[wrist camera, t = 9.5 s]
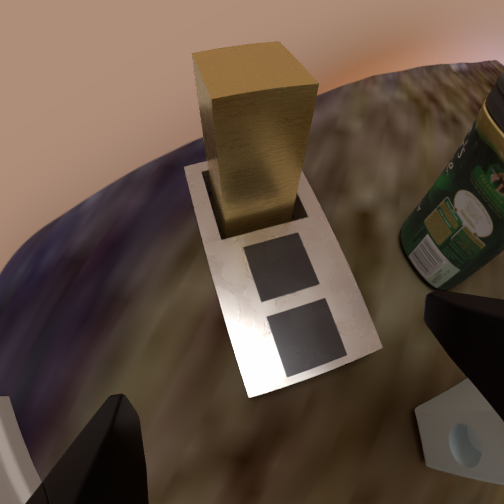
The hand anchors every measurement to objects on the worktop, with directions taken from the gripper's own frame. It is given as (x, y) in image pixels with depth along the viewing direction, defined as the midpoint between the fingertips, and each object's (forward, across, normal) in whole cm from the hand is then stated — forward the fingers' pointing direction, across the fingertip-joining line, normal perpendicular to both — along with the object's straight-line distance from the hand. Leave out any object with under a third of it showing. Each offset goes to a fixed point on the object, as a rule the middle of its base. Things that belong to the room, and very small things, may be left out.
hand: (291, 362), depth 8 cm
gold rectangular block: (+19, -3, 0) cm, 19 cm away
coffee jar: (+13, -19, +6) cm, 24 cm away
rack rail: (+15, -3, +4) cm, 16 cm away
